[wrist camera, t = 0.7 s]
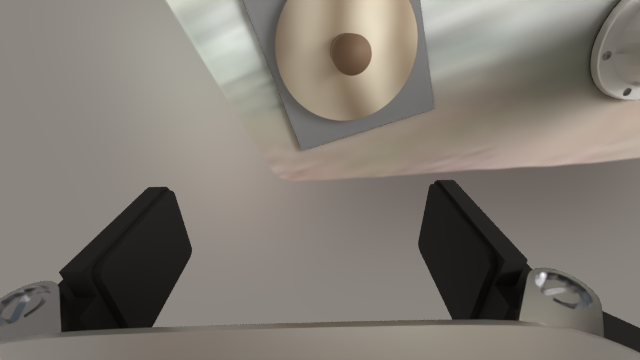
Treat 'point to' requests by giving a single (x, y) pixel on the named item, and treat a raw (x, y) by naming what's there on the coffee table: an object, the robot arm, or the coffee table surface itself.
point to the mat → (315, 130)
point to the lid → (345, 54)
